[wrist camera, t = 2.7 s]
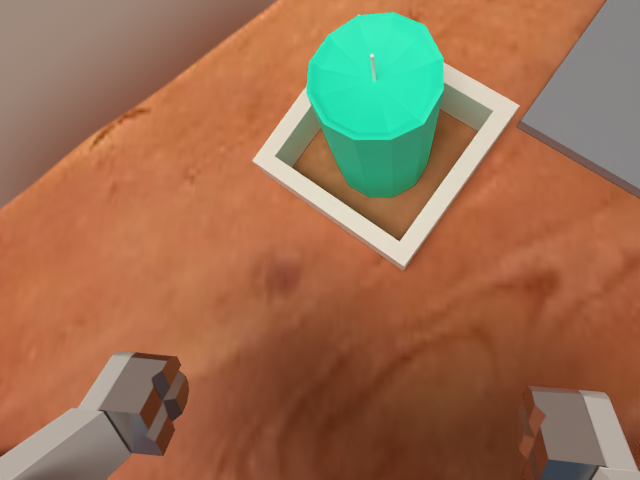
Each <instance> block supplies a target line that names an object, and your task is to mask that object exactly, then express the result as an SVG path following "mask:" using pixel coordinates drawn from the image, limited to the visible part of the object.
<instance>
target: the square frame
mask: <svg viewBox="0 0 640 480" xmlns="http://www.w3.org/2000/svg"><path fill="white" fill-rule="evenodd" d="M358 15H359V14H358ZM443 67H444V91H443V96H442V101H441V105H440V109H441V110H442V111H444V112H446V113H447V114H449V115H451V116H452V117H454V118H456V119H458V120H459V121H461V122H463V123H464V124H466V125H468V126H469V127H471V128H473V129H474V130H476V131H478V133H477V135H476V136H475V137H474V139H473V140H472V141H471V143H470V144H469V146H468V147H467V148H466V150H465V151H464V153H463V154H462V155H461V157H460V158H459V160H458V161H457V162H456V164H455V165H454V167H453V168H452V169H451V171H450V172H449V174H448V175H447V176H446V178H445V179H444V180H443V182H442V183H441V185H440V186H439V187H438V189H437V190H436V192H435V193H434V194H433V196H432V197H431V199H430V200H429V201H428V203H427V204H426V206H425V207H424V208H423V210H422V211H421V213H420V214H419V215H418V217H417V218H416V220H415V221H414V222H413V224H412V225H411V226H410V228H409V229H408V231H407V232H406V233H405V235H404V236H403V238H402V239H401V240H400V242H399V241H398V240H396V239H395V238H394V237H392V236H391V235H389V234H388V233H386V232H385V231H383V230H382V229H380V228H379V227H377V226H376V225H375V224H373V223H372V222H370V221H369V220H367V219H366V218H364V217H363V216H361V215H360V214H358V213H357V212H356V211H354V210H353V209H351V208H350V207H348V206H347V205H345V204H344V203H342V202H341V201H339V200H338V199H337V198H335V197H334V196H332V195H331V194H329V193H328V192H326V191H325V190H323V189H322V188H320V187H319V186H318V185H316V184H315V183H313V182H312V181H310V180H309V179H307V178H306V177H304V176H303V175H301V174H300V173H299V172H297V171H296V170H294V169H293V168H292V167H293V166H294V164H295V163H296V162H297V160H298V159H299V158H300V156H301V155H302V153H303V152H304V151H305V149H306V148H307V146H308V145H309V144H310V142H311V141H312V140H313V138H314V137H315V135H316V134H317V133H318V131H319V130H320V128H321V126H320V124H319V121H318V119H317V117H316V114H315V112H314V110H313V108H312V105H311V103H310V101H309V98H308V96H307V94H306V90H307V86H306V87H305V89H304V90H303V91H302V93H301V94H300V96H299V97H298V98H297V100H296V101H295V103H294V104H293V105H292V107H291V108H290V109H289V111H288V112H287V114H286V115H285V116H284V118H283V119H282V120H281V122H280V123H279V125H278V126H277V127H276V129H275V130H274V131H273V133H272V134H271V136H270V137H269V138H268V140H267V141H266V143H265V144H264V145H263V147H262V148H261V149H260V151H259V152H258V154H257V155H256V156H255V158H254V159H253V160H252V161H253V162H254V163H255V164H256V165H257V166H258V167H259V168H260V169H261V170H262V171H263V172H264V173H265V174H266V175H267V176H268V177H270V178H271V179H272V180H274V181H275V182H277V183H278V184H280V185H281V186H282V187H284V188H285V189H287V190H288V191H290V192H291V193H292V194H294V195H295V196H297V197H298V198H300V199H301V200H302V201H304V202H305V203H307V204H308V205H310V206H311V207H312V208H314V209H315V210H317V211H318V212H320V213H321V214H322V215H324V216H325V217H327V218H328V219H330V220H331V221H332V222H334V223H335V224H337V225H338V226H340V227H341V228H342V229H344V230H345V231H347V232H348V233H350V234H351V235H352V236H354V237H355V238H357V239H358V240H360V241H361V242H362V243H364V244H365V245H367V246H368V247H370V248H371V249H372V250H374V251H375V252H377V253H378V254H380V255H381V256H383V257H384V258H385V259H387V260H388V261H390V262H391V263H393V264H394V265H395V266H397V267H398V268H400V269H401V270H403V271H404V269H405V268H406V267H407V265H408V264H409V262H410V261H411V260H412V258H413V257H414V255H415V254H416V253H417V251H418V250H419V248H420V247H421V246H422V244H423V243H424V241H425V240H426V239H427V237H428V236H429V235H430V233H431V232H432V230H433V229H434V228H435V226H436V225H437V223H438V222H439V221H440V219H441V218H442V216H443V215H444V214H445V212H446V211H447V209H448V208H449V207H450V205H451V204H452V202H453V201H454V200H455V198H456V197H457V195H458V194H459V193H460V191H461V190H462V188H463V187H464V186H465V184H466V183H467V181H468V180H469V179H470V177H471V176H472V175H473V173H474V172H475V170H476V169H477V168H478V166H479V165H480V163H481V162H482V161H483V159H484V158H485V156H486V155H487V154H488V152H489V151H490V149H491V148H492V147H493V145H494V144H495V142H496V141H497V140H498V138H499V137H500V135H501V134H502V133H503V131H504V130H505V128H506V127H507V125H508V124H509V122H510V120H511V119H512V117H513V115H514V114H515V112H516V111H517V109H518V107H519V106H520V105H518V104H516V103H514V102H513V101H511V100H509V99H507V98H506V97H504V96H502V95H500V94H499V93H497V92H495V91H493V90H491V89H490V88H488V87H486V86H484V85H483V84H481V83H479V82H477V81H476V80H474V79H472V78H470V77H468V76H467V75H465V74H463V73H461V72H460V71H458V70H456V69H454V68H453V67H451V66H449V65H447V64H445V63H444V62H443Z"/></svg>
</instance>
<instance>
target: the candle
mask: <svg viewBox="0 0 640 480" xmlns="http://www.w3.org/2000/svg"><path fill="white" fill-rule="evenodd" d="M443 91H444V67H443V56H442V55H441V53H440V51H439V49H438V47H437V46H436V44H435V42H434V40H433V38H432V36H431V35H430V33H429V31H428V29H427V27H426V26H425V25H423V24H421V23H419V22H416V21H414V20H411V19H409V18H406V17H404V16H401V15H399V14H397V13H394V12H391V13H380V14H368V15H358V16H356V17H355V18H353V19H352V20H350V21H349V22H347V23H346V24H344V25H343V26H341V27H340V28H338V29H337V30H335V31H334V32H332V33H331V34H329V35H328V36H327V37H326V39H325V40H324V42H323V43H322V44H321V46H320V47H319V49H318V50H317V52H316V53H315V55H314V56H313V57H312V59H311V60H310V62H309V67H308V78H307V90H306V94H307V96H308V98H309V101H310V103H311V105H312V108H313V110H314V112H315V114H316V117H317V119H318V121H319V124H320V126H321V128H322V131H323V133H324V135H325V137H326V140H327V142H328V144H329V147H330V149H331V151H332V154H333V156H334V158H335V160H336V163H337V165H338V167H339V169H340V171H341V172H342V174H343V176H344V178H345V180H346V181H347V183H348V185H349V186H350V187H352V188H354V189H356V190H357V191H359V192H361V193H363V194H364V195H366V196H368V197H395V196H397V195H398V194H400V193H402V192H404V191H406V190H407V189H409V188H411V187H413V186H415V184H416V183H417V181H418V179H419V178H420V176H421V175H422V173H423V171H424V170H425V168H426V166H427V165H428V160H429V155H430V151H431V146H432V142H433V137H434V133H435V128H436V123H437V119H438V114H439V110H440V105H441V101H442V96H443Z"/></svg>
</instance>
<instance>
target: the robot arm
mask: <svg viewBox="0 0 640 480" xmlns="http://www.w3.org/2000/svg"><path fill="white" fill-rule="evenodd" d="M180 366H181V364H180V362H179V360H178V358H177V356H167V355H157V354H147V353H139V352H128V351H117V352H116V353H115V354H114V355H112V356H111V358H110V359H109V361H108V362H107V364H106V365H105V367H104V368H103V370H102V372H101V373H100V375H99V376H98V378H97V379H96V381H95V382H94V384H93V385H92V387H91V388H90V390H89V391H88V393H87V394H86V396H85V397H84V399H83V400H82V402H81V404H80V405H79V407H78V408H71V409H69V410H68V411H67V412H65V413H64V414H62V415H61V416H59V417H58V418H56V419H55V420H54V421H52V422H51V423H49V424H48V425H46V426H45V427H43V428H42V429H40V430H39V431H38V432H36V433H35V434H33V435H32V436H30V437H29V438H27V439H26V440H25V441H23V442H22V443H20V444H19V445H17V446H16V447H14V448H13V449H11V450H10V451H9V452H7V453H6V454H4V455H3V456H1V457H0V480H106V479H107V478H108V477H109V476H110V475H111V474H112V473H113V472H114V471H115V470H116V469H117V468H118V467H119V466H121V465H122V464H123V463H124V462H125V461H126V460H127V459H128V458H129V457H130V456H131V453H136V454H146V455H157V456H164V454H165V451H166V449H167V447H168V445H169V442H170V440H171V438H172V436H173V434H174V431H175V428H174V424H173V421H174V420H175V419H176V418H177V417H179V416H180V415H181V414H182V413H183V411H184V408H185V406H186V404H187V400H188V394H189V384H188V380H187V378H186V376H185V375H184V374H183V373H181V372H180V371H179V368H180ZM523 400H524V404H523V405H521V406H520V407H518V411H517V415H516V438H517V444H518V450H519V451H520V452H521V453H522V455H523V456H524V457H525V458H526V459H527V460H526V463H525V466H524V468H523V475H524V480H640V471H638V468H637V466H636V463H635V461H634V458H633V456H632V453H631V451H630V448H629V446H628V443H627V441H626V438H625V436H624V433H623V431H622V428H621V426H620V423H619V421H618V418H617V416H616V413H615V411H614V408H613V406H612V403H611V401H610V398H609V397H608V396H607V395H606V393H604V392H600V391H585V390H576V389H568V388H554V387H539V386H527V387H526V388H525V389H524V392H523Z"/></svg>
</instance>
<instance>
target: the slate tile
mask: <svg viewBox="0 0 640 480" xmlns="http://www.w3.org/2000/svg"><path fill="white" fill-rule="evenodd" d="M517 128H519V129H521V130H523V131H524V132H526V133H528V134H529V135H531V136H533V137H535V138H536V139H538V140H540V141H542V142H543V143H545V144H547V145H548V146H550V147H552V148H554V149H555V150H557V151H559V152H561V153H562V154H564V155H566V156H568V157H569V158H571V159H573V160H574V161H576V162H578V163H580V164H581V165H583V166H585V167H587V168H588V169H590V170H592V171H593V172H595V173H597V174H599V175H600V176H602V177H604V178H606V179H607V180H609V181H611V182H612V183H614V184H616V185H618V186H619V187H621V188H623V189H625V190H626V191H628V192H630V193H631V194H633V195H635V196H637V197H638V198H640V0H607V1H606V3H605V4H604V5H603V7H602V8H601V10H600V11H599V12H598V14H597V15H596V16H595V18H594V19H593V21H592V22H591V23H590V25H589V26H588V28H587V29H586V30H585V32H584V33H583V35H582V36H581V37H580V39H579V40H578V42H577V43H576V44H575V46H574V47H573V49H572V50H571V51H570V53H569V54H568V56H567V57H566V58H565V60H564V61H563V63H562V64H561V65H560V67H559V68H558V70H557V71H556V72H555V74H554V75H553V76H552V78H551V79H550V81H549V82H548V83H547V85H546V86H545V88H544V89H543V90H542V92H541V93H540V95H539V96H538V97H537V99H536V100H535V102H534V103H533V104H532V106H531V107H530V109H529V110H528V111H527V113H526V114H525V116H524V117H523V118H522V120H521V121H520V123H519V124H518V126H517Z"/></svg>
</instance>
